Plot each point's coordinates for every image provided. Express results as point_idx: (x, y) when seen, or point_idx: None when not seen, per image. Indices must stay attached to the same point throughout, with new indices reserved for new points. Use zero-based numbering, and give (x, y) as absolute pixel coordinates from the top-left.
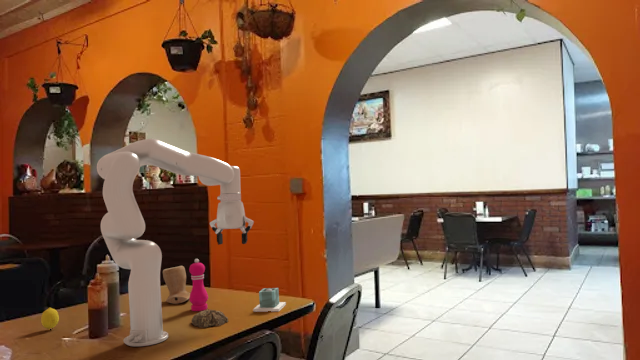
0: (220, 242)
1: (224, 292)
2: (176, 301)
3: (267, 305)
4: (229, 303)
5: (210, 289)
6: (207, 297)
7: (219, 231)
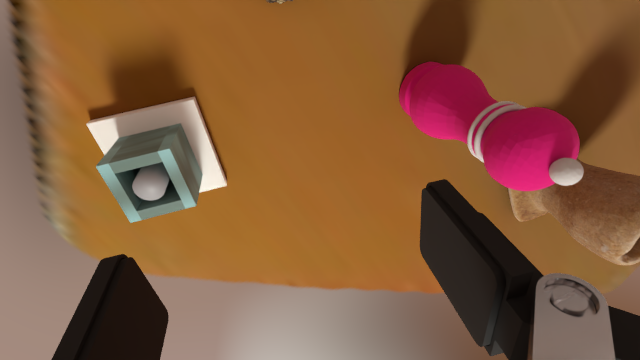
0: (429, 218)
1: None
2: None
3: (147, 133)
4: (355, 176)
5: None
6: (412, 112)
7: (531, 330)
